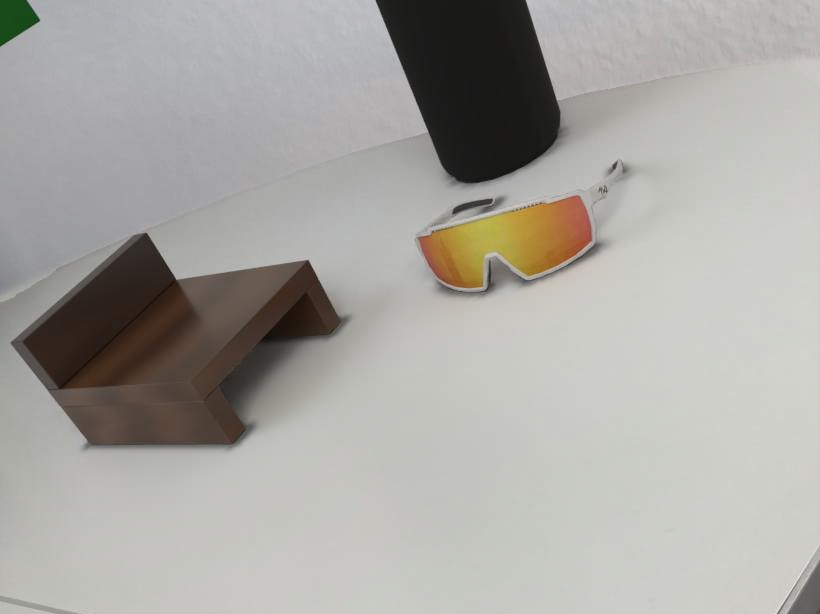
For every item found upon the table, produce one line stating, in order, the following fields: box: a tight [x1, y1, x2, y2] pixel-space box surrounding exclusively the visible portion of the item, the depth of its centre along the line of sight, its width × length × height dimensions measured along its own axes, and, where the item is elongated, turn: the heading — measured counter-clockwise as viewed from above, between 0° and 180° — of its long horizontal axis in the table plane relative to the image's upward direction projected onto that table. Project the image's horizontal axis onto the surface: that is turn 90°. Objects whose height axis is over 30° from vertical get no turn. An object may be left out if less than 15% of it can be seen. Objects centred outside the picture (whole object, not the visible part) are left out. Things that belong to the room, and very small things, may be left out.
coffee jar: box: [374, 0, 562, 184], centre depth 77 cm, size 11×11×18 cm
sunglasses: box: [414, 158, 624, 293], centre depth 69 cm, size 14×15×5 cm
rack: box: [10, 232, 342, 445], centre depth 71 cm, size 16×14×9 cm
